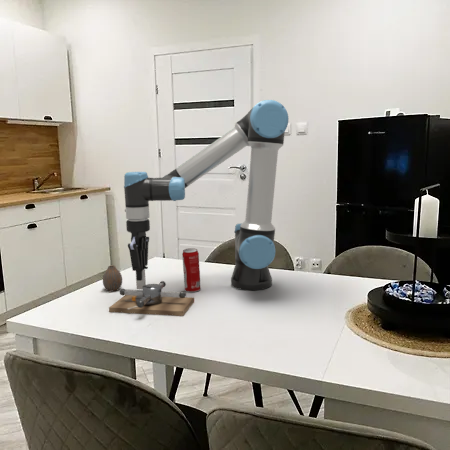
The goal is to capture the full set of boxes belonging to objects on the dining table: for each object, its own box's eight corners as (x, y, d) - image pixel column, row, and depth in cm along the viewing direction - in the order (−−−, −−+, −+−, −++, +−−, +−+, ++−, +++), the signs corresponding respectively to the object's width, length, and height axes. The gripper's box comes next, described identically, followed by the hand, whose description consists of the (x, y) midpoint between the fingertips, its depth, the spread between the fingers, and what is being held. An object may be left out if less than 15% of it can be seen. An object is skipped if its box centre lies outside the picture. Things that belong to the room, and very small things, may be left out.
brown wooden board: (194, 301, 150) (194, 296, 149) (181, 317, 136) (181, 311, 136) (126, 298, 154) (125, 293, 154) (107, 313, 141) (107, 307, 140)
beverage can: (201, 287, 165) (200, 247, 162) (199, 293, 158) (197, 251, 156) (185, 287, 165) (184, 247, 163) (182, 293, 159) (180, 251, 157)
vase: (120, 292, 161) (118, 268, 160) (100, 292, 161) (99, 268, 160) (124, 286, 168) (123, 263, 167) (106, 286, 168) (104, 263, 167)
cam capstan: (195, 292, 154) (194, 278, 153) (175, 315, 132) (174, 299, 132) (133, 289, 158) (132, 275, 157) (105, 311, 137) (103, 296, 136)
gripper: (134, 216, 155) (138, 282, 159) (118, 222, 142) (122, 294, 146) (155, 216, 153) (158, 283, 157) (141, 222, 141) (144, 295, 145)
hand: (141, 288), depth 152 cm, fingers closed
